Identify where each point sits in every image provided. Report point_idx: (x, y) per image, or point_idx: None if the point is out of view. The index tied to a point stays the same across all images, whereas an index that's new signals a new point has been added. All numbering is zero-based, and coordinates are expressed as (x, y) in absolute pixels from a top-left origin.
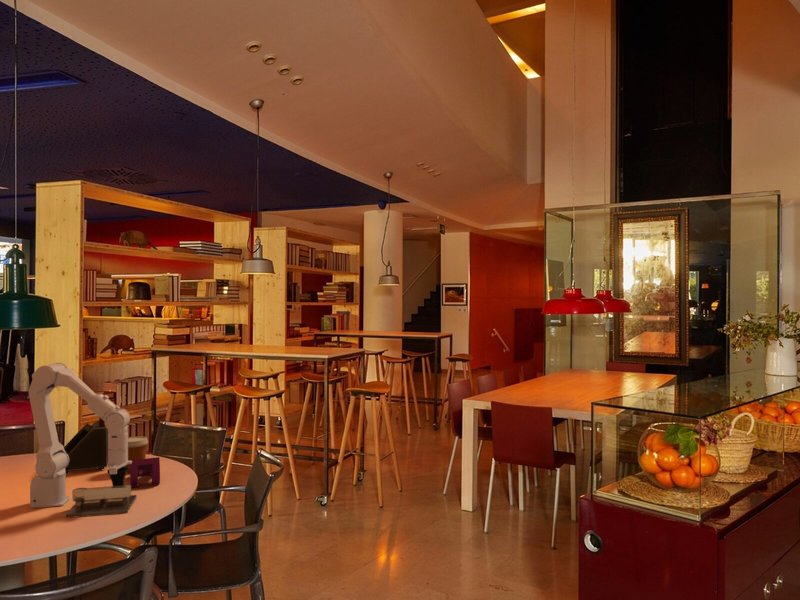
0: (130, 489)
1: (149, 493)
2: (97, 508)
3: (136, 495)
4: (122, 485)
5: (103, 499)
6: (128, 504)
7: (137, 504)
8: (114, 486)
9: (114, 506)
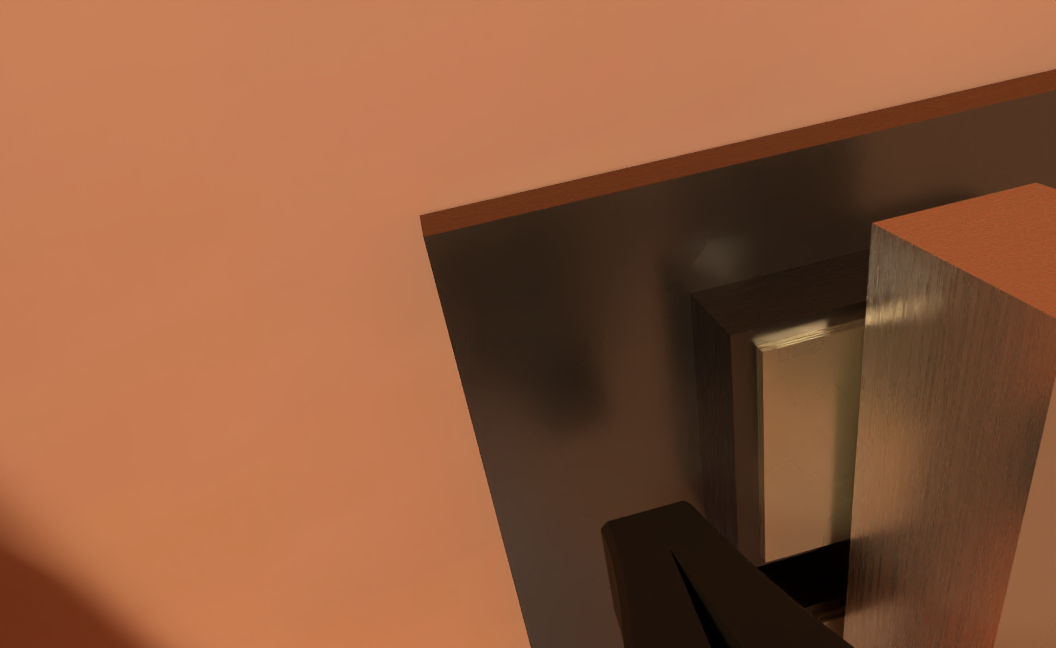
0: (1046, 259)
1: (49, 57)
2: None
3: (429, 232)
4: (754, 571)
5: (826, 583)
6: (995, 138)
7: (805, 30)
8: (1021, 638)
9: None
